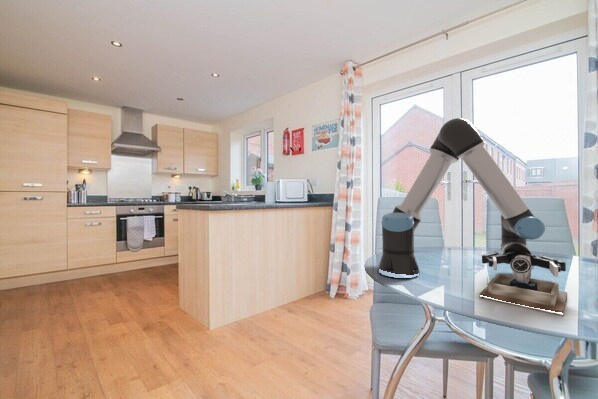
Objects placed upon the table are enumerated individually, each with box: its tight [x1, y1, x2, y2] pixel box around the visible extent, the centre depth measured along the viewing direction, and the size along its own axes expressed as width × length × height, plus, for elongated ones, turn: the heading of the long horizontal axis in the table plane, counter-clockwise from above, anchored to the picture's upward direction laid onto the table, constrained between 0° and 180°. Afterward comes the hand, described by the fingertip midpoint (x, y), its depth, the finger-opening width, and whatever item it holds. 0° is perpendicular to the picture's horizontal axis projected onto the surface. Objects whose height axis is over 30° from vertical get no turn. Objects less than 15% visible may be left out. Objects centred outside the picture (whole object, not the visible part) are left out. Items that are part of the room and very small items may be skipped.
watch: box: [509, 255, 537, 291], centre depth 82 cm, size 6×8×11 cm
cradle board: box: [479, 273, 568, 313], centre depth 82 cm, size 18×18×4 cm
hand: (524, 268), depth 79 cm, fingers open, 13 cm apart
